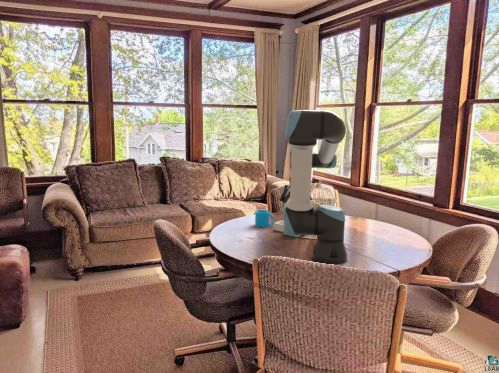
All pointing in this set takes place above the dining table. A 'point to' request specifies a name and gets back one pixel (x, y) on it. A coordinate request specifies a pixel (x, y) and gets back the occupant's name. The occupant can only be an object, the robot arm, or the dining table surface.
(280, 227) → the mount
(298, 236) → the socket
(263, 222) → the mug
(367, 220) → the dining table surface
